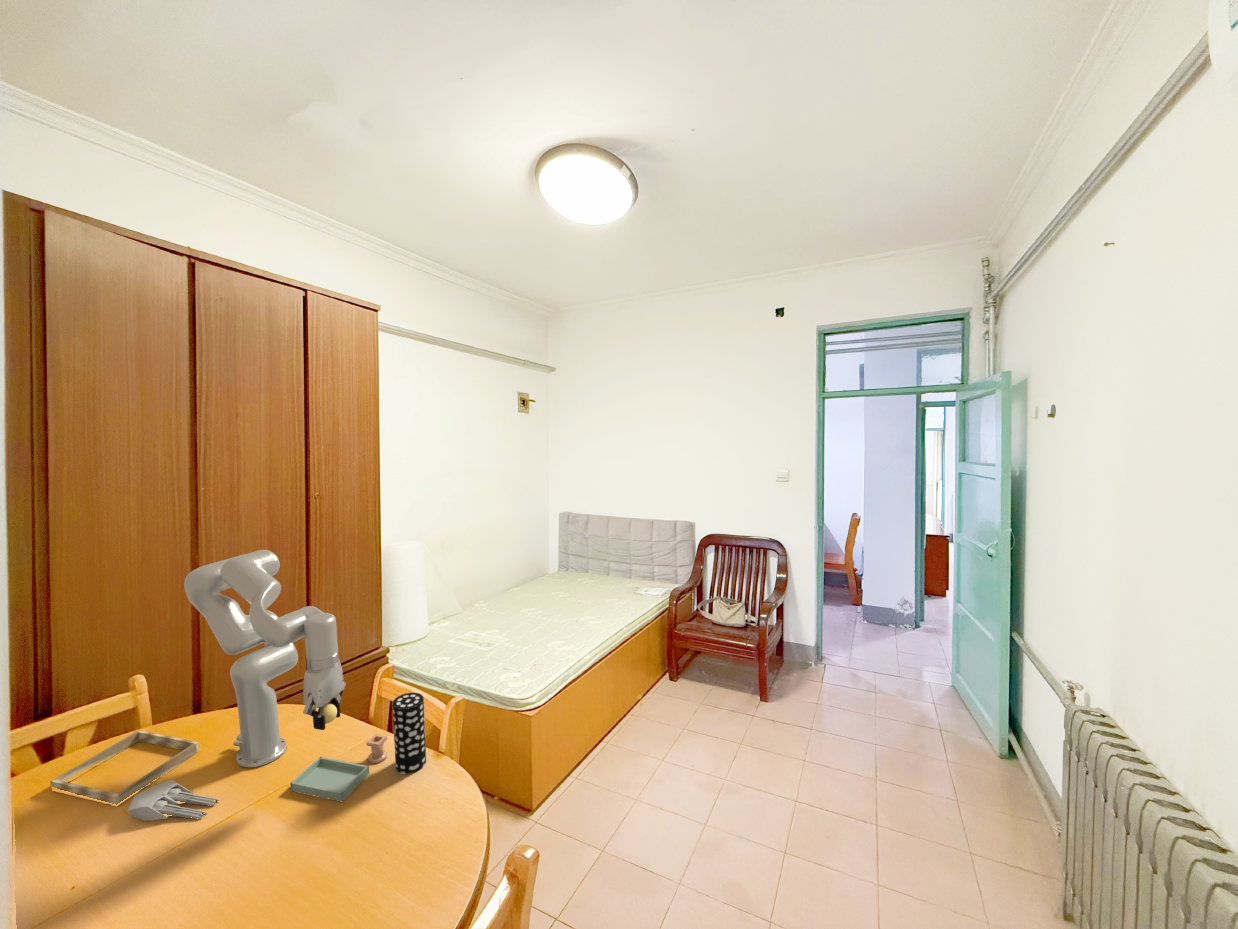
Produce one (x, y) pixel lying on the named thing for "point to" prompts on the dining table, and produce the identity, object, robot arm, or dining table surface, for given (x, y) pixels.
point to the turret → (167, 802)
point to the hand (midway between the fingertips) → (327, 721)
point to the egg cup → (377, 748)
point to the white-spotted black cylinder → (409, 733)
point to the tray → (330, 778)
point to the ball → (329, 712)
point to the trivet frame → (143, 736)
